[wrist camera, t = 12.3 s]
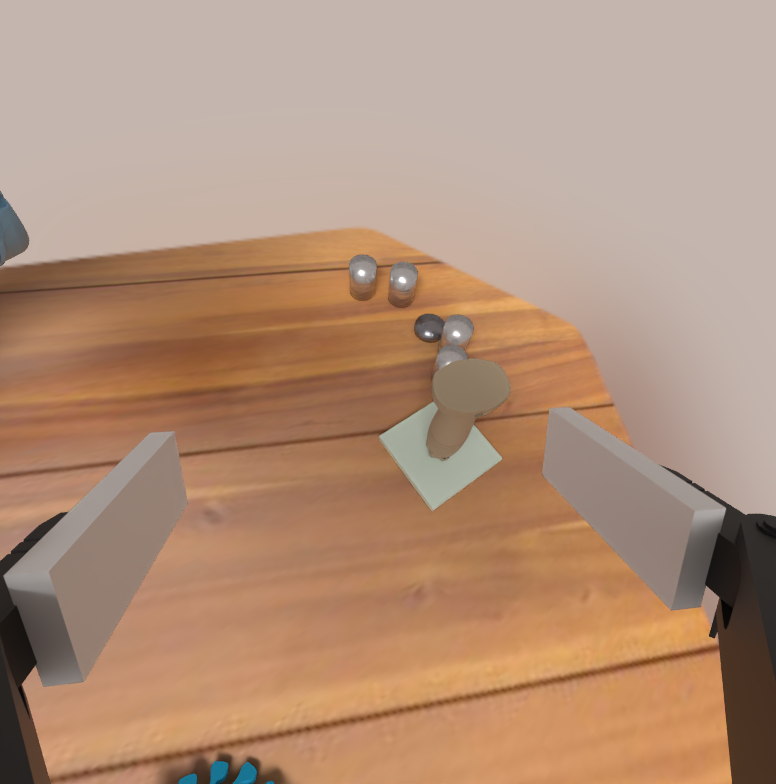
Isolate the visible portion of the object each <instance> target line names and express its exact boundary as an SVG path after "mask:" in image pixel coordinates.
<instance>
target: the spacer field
mask: <svg viewBox="0 0 776 784" xmlns="http://www.w3.org/2000/svg"><path fill="white" fill-rule="evenodd" d="M349 268H350V294H351V296H352V297H353V298H355V299H357V300H360V301H366V300H369V299H371V298H372V297H373V296H374V294H375V285H376V269H377V264H376V261H375V260H374V259H373V258H372V257H370V256H368V255H357V256H355V257H353V258H352V259H351V261H350V263H349ZM417 275H418V271H417V268H416V267H415V266H414V265H413V264H411V263H408V262H398V263H396V264H394V265H393V266H392V268H391V273H390V282H389V292H388V300H389V302H390V303H391V304H392V305H393V306H395V307H399V308H404V307H407V306H409V305H410V304H411V303H412V302H413V297H414V292H415V286H416V281H417ZM473 330H474V326H473V323H472V322H471V320H470V319H469V318H467V317H465V316H463V315H452V316H450V317H449V318H447V320H446V322H445V325H444V328H443V331H442V335H441V338H440V341H439V344H438V355H437V358H436V362H435V365H434V368H433V371H432V374H431V381H432V380H433V377H434V374H435V373H436V372H437V371H439V370H440V369H441V368H443V367H444V366H446V365H447V364H449V363H451V362H454V361H458V360H464V359H468V357H467V354H466V352H465V350H466V347H467V345H468V342H469V340H470V338H471V335H472V333H473Z"/></svg>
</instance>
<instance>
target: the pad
mask: <svg viewBox="0 0 776 784" xmlns="http://www.w3.org/2000/svg"><path fill="white" fill-rule="evenodd" d="M437 410H438V408H437V406H436V404H435V403H434V401H433V402H432V403H430V404H429V405H427V406H426V407H424V408H422V409H421V410H419V411H418V412H416V413H414V414H413V415H411V416H410V417H408V418H407V419H405V420H403V421H402V422H400V423H399V424H397V425H396V426H394V427H392V428H391V429H389V430H388V431H386V432H385V433H383V434H381V435H380V436H379V440H380V442H381V443H382V444H383V446H384V447H385V448H386V450H387V451H388V453H389V454H390V455H391V457H392V458H393V459H394V461H395V462H396V463H397V465H398V466H399V468H400V469H401V470H402V472H403V473H404V474H405V476H406V477H407V478H408V480H409V481H410V483H411V484H412V485H413V487H414V488H415V489H416V491H417V492H418V493H419V495H420V496H421V498H422V499H423V500H424V502H425V503H426V504H427V506H428V507H429V508H430V510H431V511H434V510H435V509H436V508H438V507H439V506H440V505H442V504H443V503H444V502H446V501H447V500H449V499H450V498H451V497H453V496H454V495H455V494H457V493H458V492H459V491H461V490H462V489H463V488H465V487H466V486H467V485H469V484H470V483H472V482H473V481H474V480H476V479H477V478H478V477H480V476H481V475H482V474H484V473H485V472H486V471H488V470H489V469H490V468H492V467H493V466H495V465H496V464H497V463H499V462H500V461H501V460H502V459H503V458H502V457H501V456H500V455H499V454H498V452H497V451H496V450H495V449H494V448H493V447H492V445H491V444H490V443H489V442H488V441H487V439H486V438H485V437H484V436H483V435H482V434H481V432H480V431H479V430H478V429H477V428H476V426H475V425H474V424H473V427H472V429H471V431H470V433H469V436H468V438H467V439H466V441H465V442H464V444H463V445H462V447H461V448H460V449H459V450H458V451H457V452H456V453H454V454H453V455H452V456H450V457H449V459H448V460H446V461H441V460H440V459H438V458H431V457H430V456H429V450H428V448H427V447H426V440H427V434H428V429H429V426H430V423H431V421H432V419H433V417H434V415H435V414H436V412H437Z"/></svg>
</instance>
